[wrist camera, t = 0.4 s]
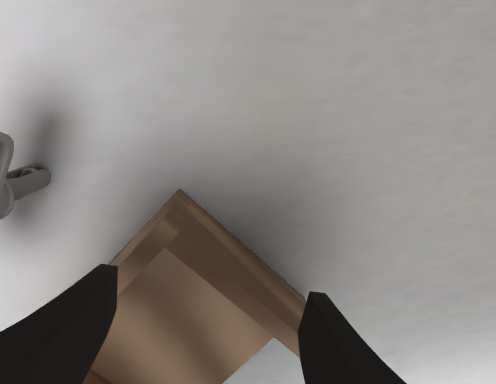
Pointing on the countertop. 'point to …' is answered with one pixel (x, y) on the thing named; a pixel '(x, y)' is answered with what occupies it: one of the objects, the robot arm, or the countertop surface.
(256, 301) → the brown wooden open box
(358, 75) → the countertop surface
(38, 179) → the mechanical component
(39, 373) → the robot arm
